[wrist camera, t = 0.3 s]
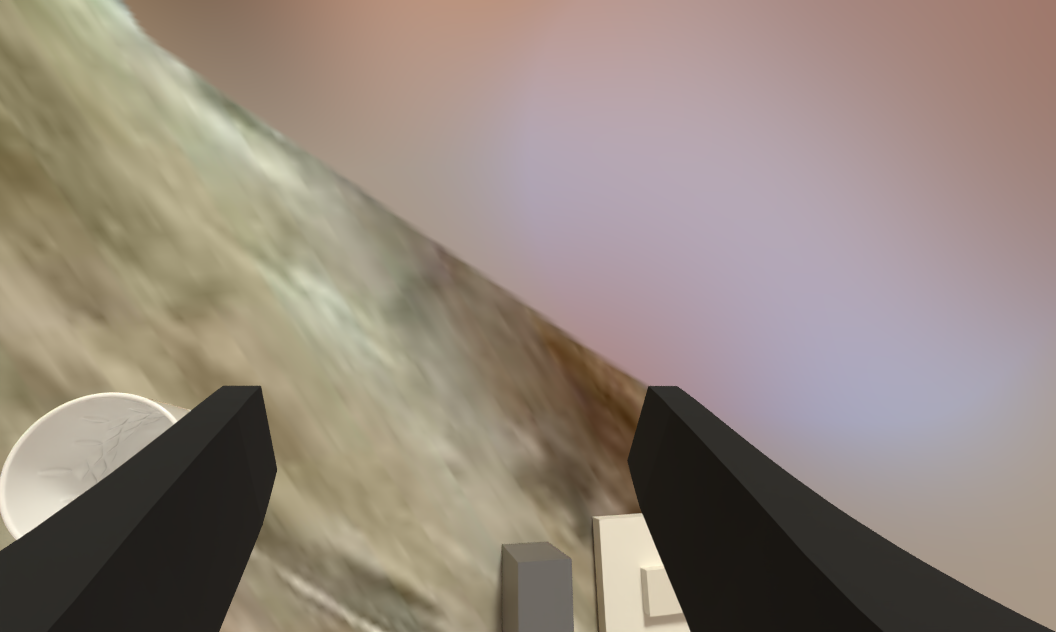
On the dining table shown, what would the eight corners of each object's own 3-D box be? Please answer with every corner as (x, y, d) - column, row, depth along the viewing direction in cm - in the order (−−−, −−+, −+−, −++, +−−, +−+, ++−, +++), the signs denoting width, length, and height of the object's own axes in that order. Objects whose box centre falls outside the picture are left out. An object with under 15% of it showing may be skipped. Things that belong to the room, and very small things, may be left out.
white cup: (203, 549, 33) (118, 593, 23) (89, 495, 32) (-47, 518, 22) (274, 438, 35) (224, 436, 26) (170, 386, 34) (78, 364, 25)
